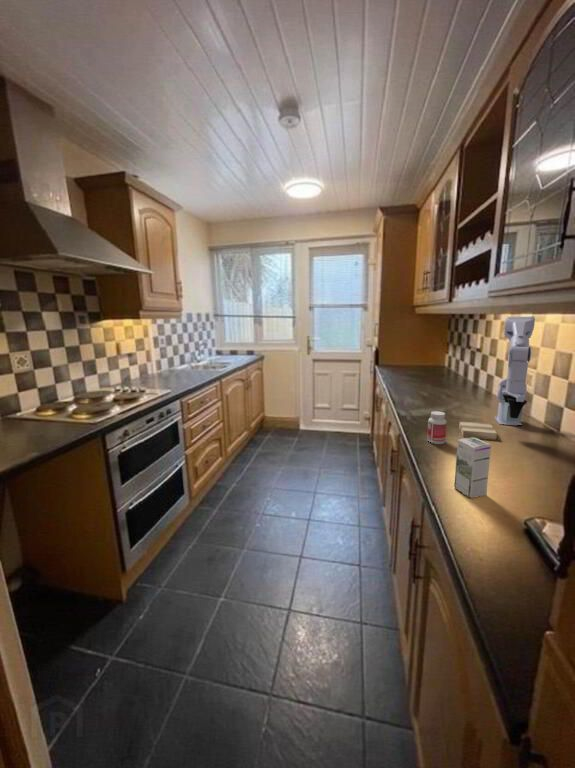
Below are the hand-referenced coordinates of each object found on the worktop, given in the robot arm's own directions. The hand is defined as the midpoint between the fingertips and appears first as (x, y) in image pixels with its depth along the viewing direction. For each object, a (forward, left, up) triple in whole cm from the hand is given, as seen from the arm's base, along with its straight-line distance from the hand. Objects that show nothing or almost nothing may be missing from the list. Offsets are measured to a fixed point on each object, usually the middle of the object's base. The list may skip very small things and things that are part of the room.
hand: (512, 415), depth 124 cm
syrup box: (+46, -20, -9) cm, 51 cm away
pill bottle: (+11, -26, -9) cm, 30 cm away
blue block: (0, 0, -2) cm, 2 cm away
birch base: (-2, -11, -9) cm, 14 cm away
